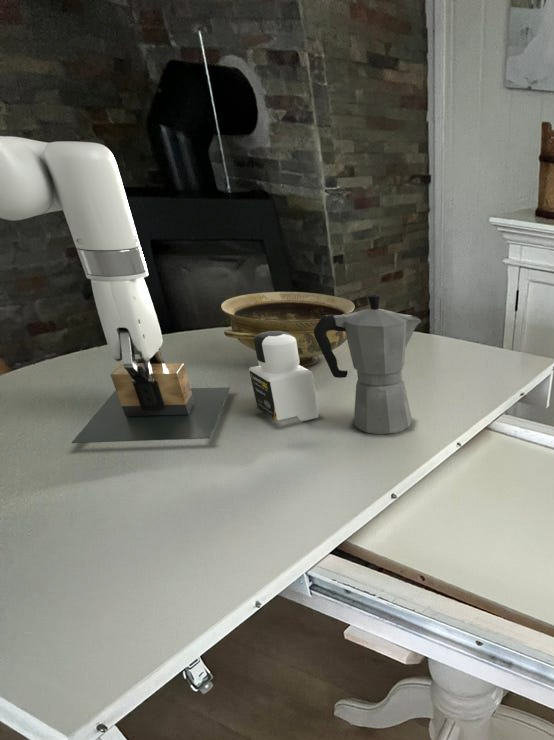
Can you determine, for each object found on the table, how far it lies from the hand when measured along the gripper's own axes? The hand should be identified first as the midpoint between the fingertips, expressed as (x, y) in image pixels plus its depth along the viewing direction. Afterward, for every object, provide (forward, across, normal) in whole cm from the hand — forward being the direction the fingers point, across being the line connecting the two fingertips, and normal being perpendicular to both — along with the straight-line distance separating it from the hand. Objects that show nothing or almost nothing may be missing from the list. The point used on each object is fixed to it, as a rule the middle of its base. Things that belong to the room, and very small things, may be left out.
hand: (158, 401), depth 90 cm
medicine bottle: (+3, +1, +19) cm, 19 cm away
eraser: (+1, 0, 0) cm, 1 cm away
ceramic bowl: (+3, -29, +19) cm, 35 cm away
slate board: (+3, +1, 0) cm, 3 cm away
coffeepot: (+3, +5, +33) cm, 33 cm away
